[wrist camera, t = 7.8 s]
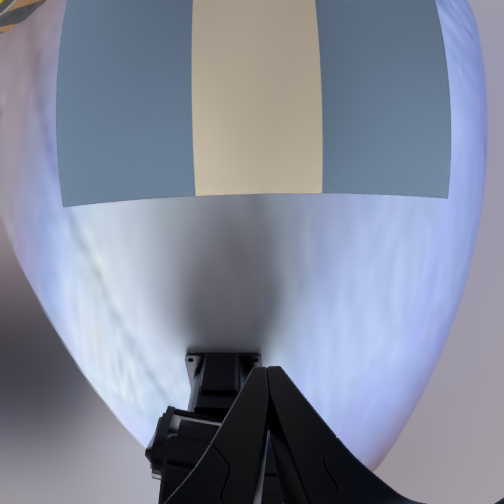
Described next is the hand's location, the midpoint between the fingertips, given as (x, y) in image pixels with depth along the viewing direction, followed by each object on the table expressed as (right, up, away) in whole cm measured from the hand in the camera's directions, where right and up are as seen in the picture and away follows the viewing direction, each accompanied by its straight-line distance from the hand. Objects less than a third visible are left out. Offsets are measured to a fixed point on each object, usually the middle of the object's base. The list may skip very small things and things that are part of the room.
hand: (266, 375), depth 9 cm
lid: (0, +12, +2) cm, 13 cm away
